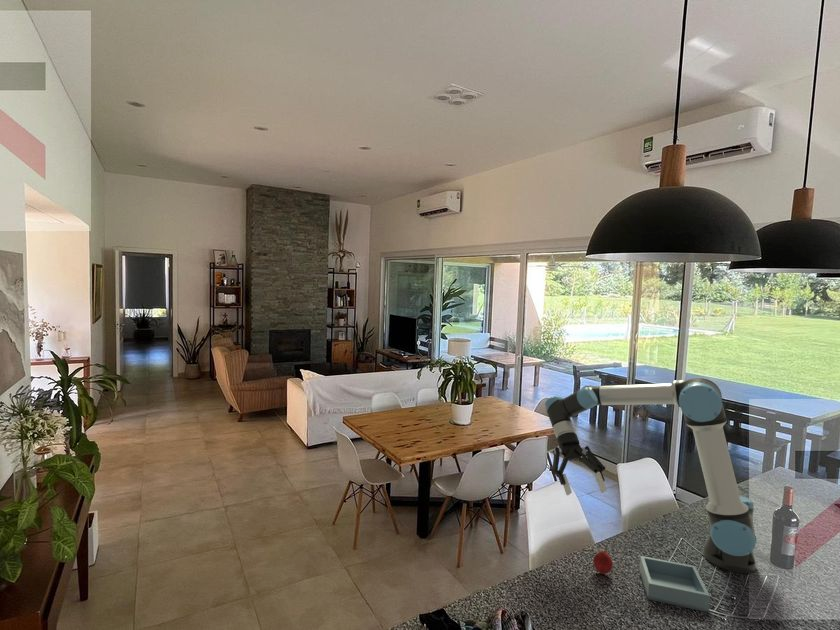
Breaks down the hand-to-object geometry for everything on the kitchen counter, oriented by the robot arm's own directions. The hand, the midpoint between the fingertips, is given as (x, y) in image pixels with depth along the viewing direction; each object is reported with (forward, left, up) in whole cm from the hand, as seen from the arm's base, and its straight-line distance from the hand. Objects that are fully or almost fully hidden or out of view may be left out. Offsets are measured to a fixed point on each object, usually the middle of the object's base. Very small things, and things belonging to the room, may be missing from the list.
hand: (586, 492), depth 156 cm
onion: (-5, +9, -22) cm, 25 cm away
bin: (-25, +10, -22) cm, 35 cm away
